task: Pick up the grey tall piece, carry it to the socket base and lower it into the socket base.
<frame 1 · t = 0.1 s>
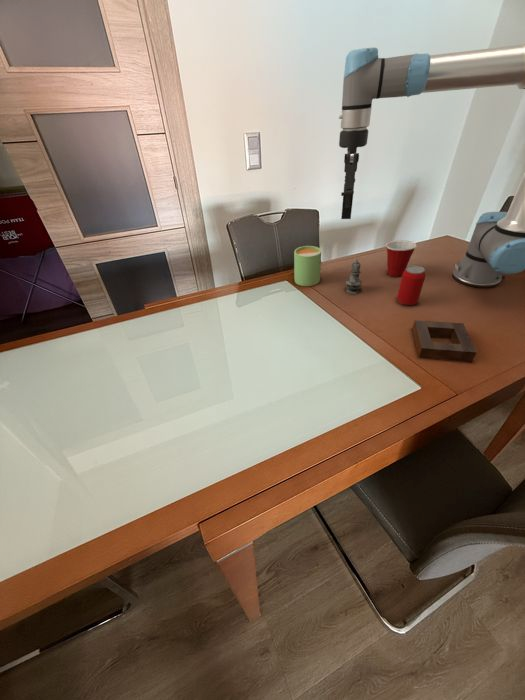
hand: (346, 211, 95), 28 cm above the table, tool pointing down, fingers open, 13 cm apart
plastic cup: (394, 273, 120), on the table
grey tall piece: (352, 290, 113), on the table
beverage can: (406, 301, 104), on the table
socket base: (439, 344, 86), on the table
mug: (306, 279, 122), on the table
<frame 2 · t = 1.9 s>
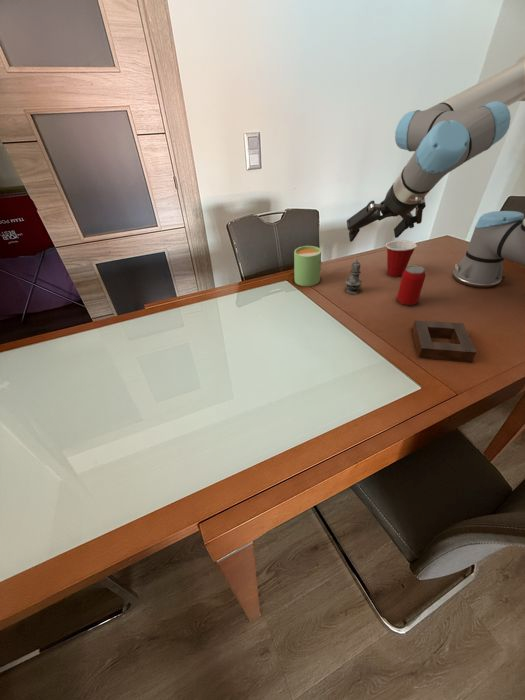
hand: (373, 235, 90), 24 cm above the table, tool tilted 45°, fingers open, 13 cm apart
nothing on the table moved.
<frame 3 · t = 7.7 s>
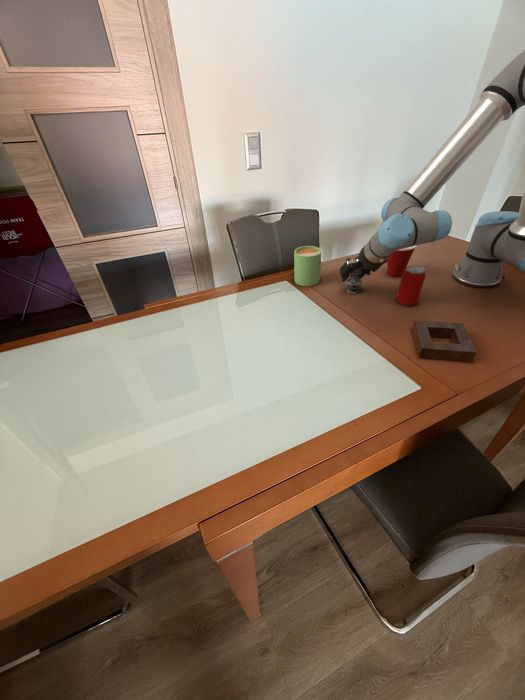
hand: (350, 277, 113), 4 cm above the table, tool tilted 45°, fingers closed on grey tall piece, 5 cm apart
grey tall piece: (352, 290, 113), on the table, touching gripper
everything else where it was.
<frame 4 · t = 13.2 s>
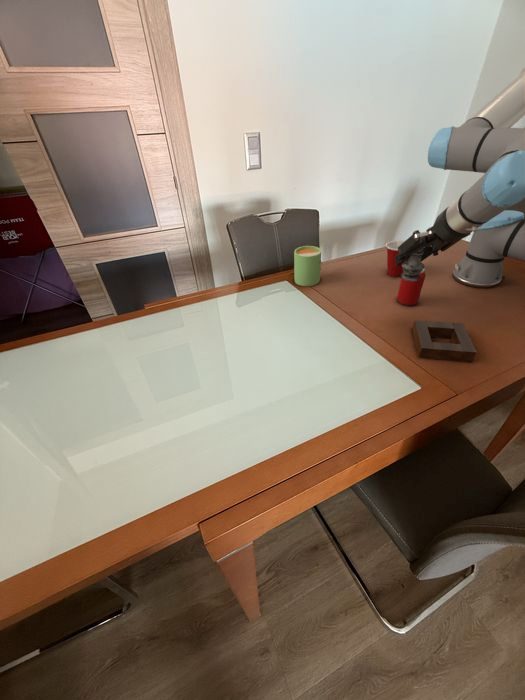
hand: (407, 260, 88), 18 cm above the table, tool tilted 45°, fingers closed on grey tall piece, 5 cm apart
grey tall piece: (410, 277, 87), point 15 cm above the table, touching gripper
everything else where it was.
when the fingers open (5 cm above the table, at t = 18.7 s): grey tall piece drops 1 cm, resting in socket base.
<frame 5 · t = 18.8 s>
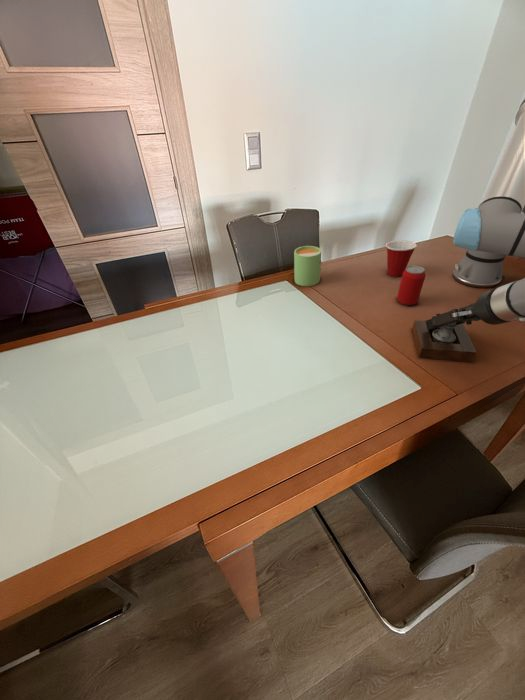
hand: (437, 323, 86), 5 cm above the table, tool tilted 45°, fingers open, 5 cm apart
grey tall piece: (439, 345, 86), resting in socket base
everything else where it was.
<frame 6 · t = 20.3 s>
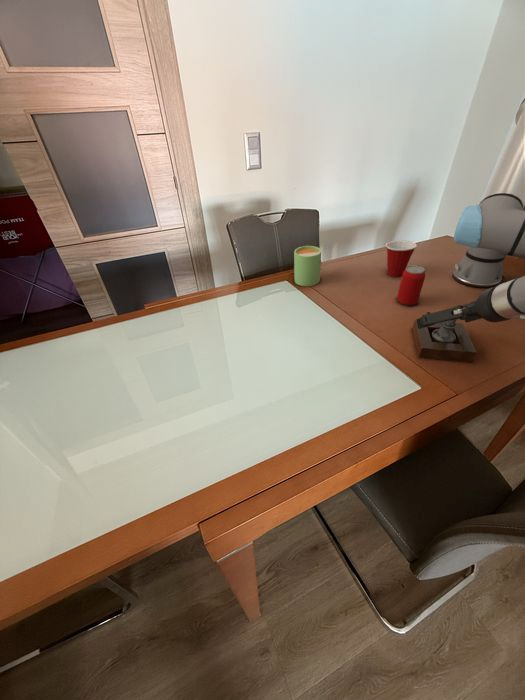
hand: (442, 320, 84), 7 cm above the table, tool tilted 45°, fingers open, 13 cm apart
nothing on the table moved.
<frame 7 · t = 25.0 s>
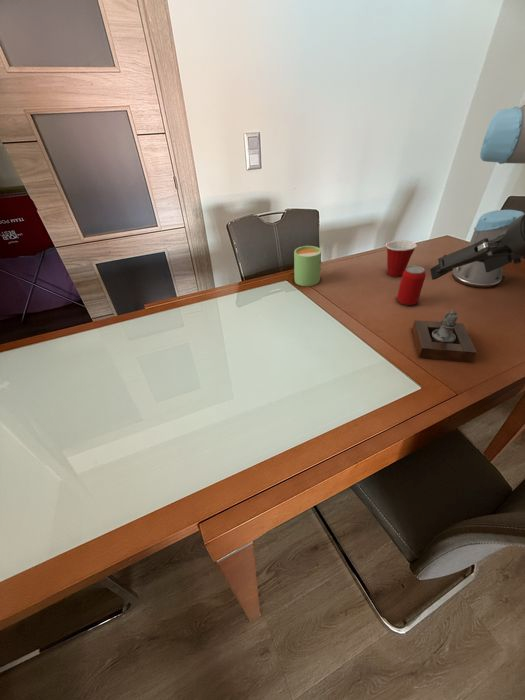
hand: (459, 270, 73), 22 cm above the table, tool tilted 45°, fingers open, 13 cm apart
nothing on the table moved.
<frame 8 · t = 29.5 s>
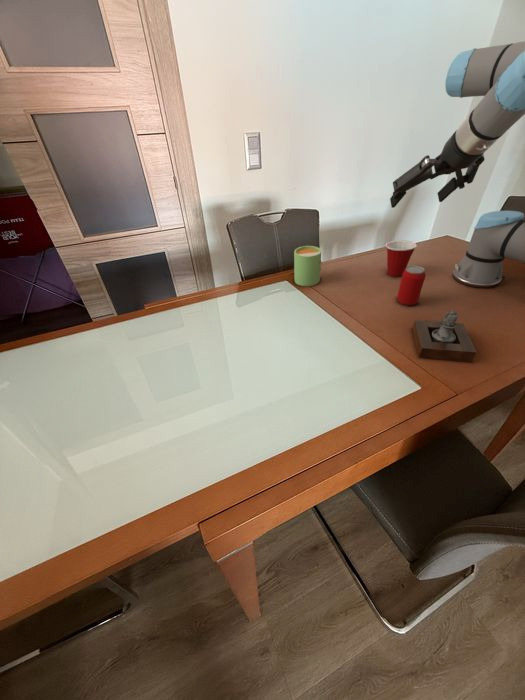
hand: (415, 200, 84), 33 cm above the table, tool tilted 45°, fingers open, 13 cm apart
nothing on the table moved.
at the end: grey tall piece 0.2 cm off-centre in the socket base, point 0.0 cm above the socket base's base; grey tall piece tilted 0°; the gripper is holding nothing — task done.
